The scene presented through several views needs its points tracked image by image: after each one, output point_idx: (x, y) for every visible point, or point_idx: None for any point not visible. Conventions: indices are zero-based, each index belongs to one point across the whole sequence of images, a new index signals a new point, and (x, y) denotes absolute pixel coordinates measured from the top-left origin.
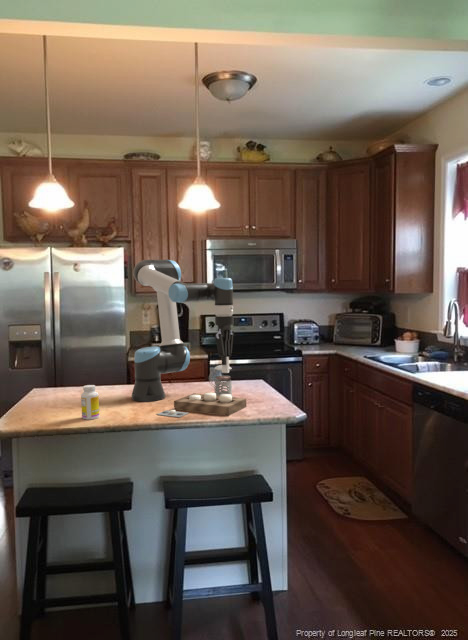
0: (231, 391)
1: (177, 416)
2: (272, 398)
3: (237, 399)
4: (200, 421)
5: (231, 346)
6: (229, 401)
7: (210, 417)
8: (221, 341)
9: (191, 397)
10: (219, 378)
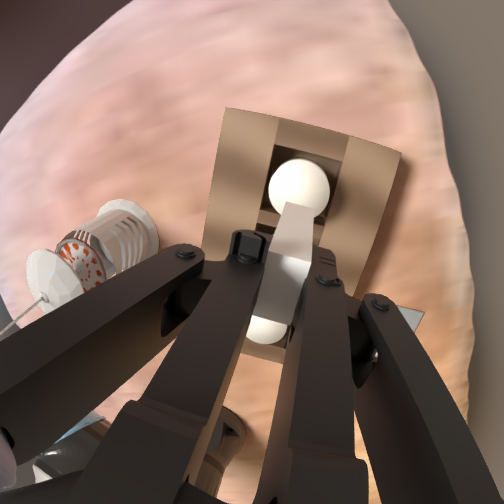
0: (104, 214)
1: (418, 319)
2: (92, 62)
3: (255, 141)
4: (466, 236)
5: (130, 290)
6: (318, 165)
7: (420, 213)
8: (484, 465)
9: (285, 332)
10: (105, 280)
